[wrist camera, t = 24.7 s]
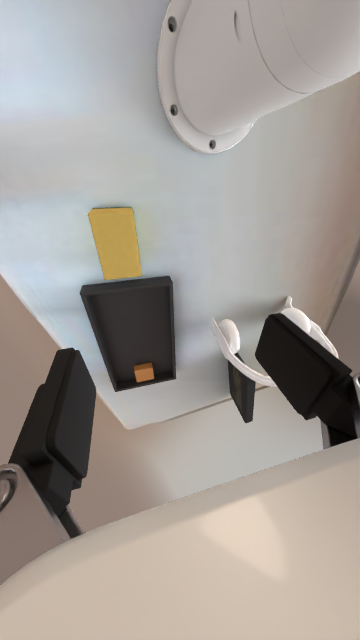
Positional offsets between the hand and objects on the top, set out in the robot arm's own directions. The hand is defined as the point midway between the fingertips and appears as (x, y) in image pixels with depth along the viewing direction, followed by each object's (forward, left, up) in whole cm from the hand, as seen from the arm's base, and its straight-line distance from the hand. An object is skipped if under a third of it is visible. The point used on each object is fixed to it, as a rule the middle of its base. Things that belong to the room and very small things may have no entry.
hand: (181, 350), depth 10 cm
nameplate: (+38, +21, -24) cm, 50 cm away
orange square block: (+28, -3, -24) cm, 37 cm away
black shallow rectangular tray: (+19, -3, -24) cm, 31 cm away
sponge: (0, -3, -24) cm, 25 cm away
